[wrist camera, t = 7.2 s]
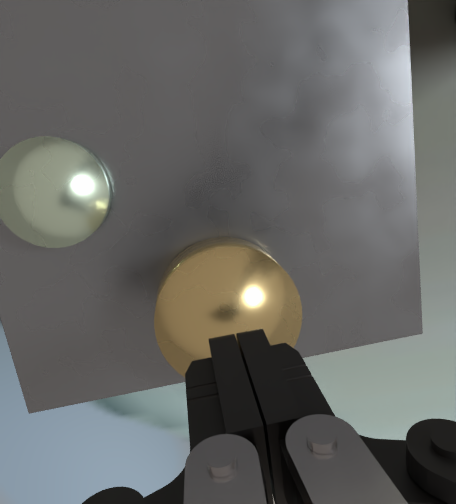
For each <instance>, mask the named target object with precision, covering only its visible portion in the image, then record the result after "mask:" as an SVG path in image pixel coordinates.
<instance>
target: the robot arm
mask: <svg viewBox="0 0 456 504" xmlns="http://www.w3.org/2000/svg"><path fill="white" fill-rule="evenodd" d="M236 339H237V340H236ZM208 340H209V346H210V352H211V357H210V358H205V359H199V360H194V361H192V362H191V364H190V366H189V368H188V369H187V371H186V373H185V381H186V395H187V409H188V423H189V436H190V454H189V456H188V458H187V460H186V464H185V468H184V469H183V471H182V472H181V473H180V474H179V475H178V476H177V477H176V478H175V479H174V480H173V481H172V482H171V483H169V484H168V485H166V486H165V487H163V488H161V489H159V490H157V491H155V492H154V493H152V494H150V495H148V496H146V497H144V498H143V496H142V495H141V494H140V493H139V492H137V491H136V490H134V489H131V488H128V487H113V488H109V489H105V490H102V491H100V492H98V493H96V494H95V495H93V496H91V497H90V498H88V499H87V500H86V501H84V502H83V503H82V504H273V498H274V501H275V504H456V422H455V421H450V420H446V419H427V420H423V421H420V422H418V423H416V424H414V425H413V426H412V427H411V428H410V429H409V431H408V433H407V436H406V440H386V439H373V438H368V437H364V436H361V435H358V434H357V432H356V431H355V430H354V428H353V427H352V426H351V425H350V424H348V423H347V422H345V421H344V420H342V419H340V418H338V417H335V415H334V413H333V412H332V410H331V408H330V406H329V405H328V403H327V401H326V399H325V397H324V396H323V394H322V392H321V390H320V389H319V387H318V385H317V383H316V382H315V380H314V378H313V377H312V375H311V373H310V371H309V369H308V367H307V366H306V364H305V362H304V360H303V359H302V357H301V355H300V353H299V352H298V351H297V350H295V349H294V348H292V347H291V346H289V345H288V344H286V343H281V344H276V345H270V343H269V341H268V339H267V337H266V334H265V332H264V330H263V329H262V328H261V329H256V330H251V331H245V332H240V333H236V337H235V334H230V335H225V336H220V337H214V338H209V339H208ZM272 494H273V496H272Z"/></svg>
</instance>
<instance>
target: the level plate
mask: <svg viewBox="0 0 456 504" xmlns="http://www.w3.org/2000/svg"><path fill="white" fill-rule="evenodd" d="M0 318H1V322H2V325H3V328H4V332H5V335H6V338H7V342H8V345H9V348H10V352H11V355H12V359H13V362H14V365H15V368H16V372H17V375H18V378H19V382H20V385H21V388H22V392H23V395H24V399H25V402H26V406H27V409H28V412H29V413H34V412H39V411H44V410H49V409H54V408H58V407H64V406H68V405H73V404H78V403H83V402H88V401H93V400H98V399H103V398H108V397H113V396H118V395H122V394H127V393H132V392H137V391H142V390H147V389H152V388H157V387H162V386H167V385H172V384H177V383H181V382H186V381H185V373H186V371H187V369H188V368H189V366H190V364H191V362H192V361H194V360H199V359H205V358H210V357H211V352H210V346H209V340H208V339H209V338H214V337H220V336H225V335H230V334H235V337H236V333H240V332H245V331H251V330H256V329H261V328H262V329H263V330H264V332H265V334H266V337H267V339H268V341H269V343H270V345H276V344H281V343H286V344H288V345H289V346H291V347H292V348H294V349H295V350H297V351H298V352H299V353H300V355H301V357H302V358H304V357H309V356H314V355H319V354H324V353H329V352H334V351H339V350H344V349H349V348H354V347H358V346H363V345H368V344H373V343H378V342H383V341H388V340H393V339H398V338H403V337H408V336H413V335H417V334H422V310H421V287H420V265H419V242H418V220H417V197H416V174H415V152H414V129H413V107H412V84H411V61H410V39H409V16H408V0H0ZM236 340H237V339H236Z"/></svg>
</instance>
